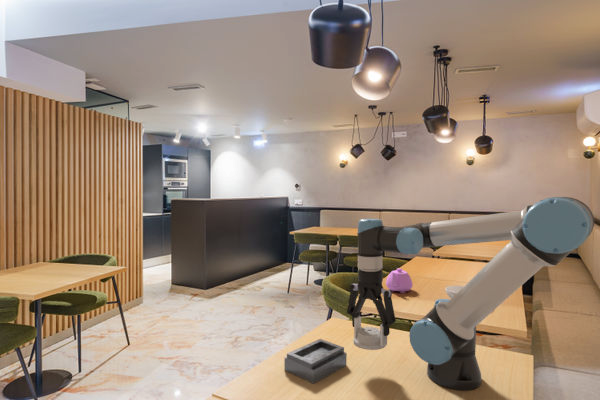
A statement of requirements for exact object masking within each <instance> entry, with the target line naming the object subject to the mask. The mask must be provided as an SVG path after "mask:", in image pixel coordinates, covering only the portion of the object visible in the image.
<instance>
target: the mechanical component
mask: <svg viewBox="0 0 600 400" xmlns="http://www.w3.org/2000/svg"><path fill="white" fill-rule="evenodd" d="M353 344H354V346H355V347H357V348H359V349H362V350H365V351H366V350H367V351H377V350H382V349H384V348H386V346H384V347H381V345H380V328H377V327H373V326H365V327H362V326H361V328H359V329H358V335H357V338H355V337H353Z"/></svg>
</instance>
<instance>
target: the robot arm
mask: <svg viewBox="0 0 600 400" xmlns="http://www.w3.org/2000/svg"><path fill="white" fill-rule="evenodd" d="M594 226H595V216H594V214H593V212H592V210H591V208H590V207H589V206H588V205H587V204H586V203H585V202H583V201H582V200H580V199H577V198H574V197H568V196H559V197H558V196H555V197H553V196H552V197H546V198H544V199H542V200H539V201H538V202H535V203H534V204H532V205H526V206H525V207H524V208H523V209H522V210H514V211H507V212H500V213H492V214H491V213H490V214H484V215H477V216H470V217H469V216H468V217H463V218H453V219H446V220H440V221H432V222H420V223H416V224H410V225H405V226H385V225H384V223H383V220H382V219H380V218H362V219H359V221H358V224H357V268H358V269H357V281H358V283H356V282H355V283H351V284H350V285H349V291H350V293H349V299H348V304H347V309H346V314H347V315H350V316H351V317H352V318H351V320H352V321H351V322H352V327H353V331H354V332H353V336H354V337H355V338H357V335H358V329H359V328H361V327H362V316H360V315H361V311H362V309H363V306H364V304H365V302H366V300H369V301H372V303H373V304H374V305H375V308H376V310H377V313H378V316H379V318H380V321H381V324H380V325H379V330H380V345H381V347H384V346H385V347H386V346H388V336H389V335H390V326H392V325H393V324H395V323H396V321H397V320H396V317H395V310H394V305H393V300H392V296H393V295H392V294H393V292H392V291H391V290H390V289H386V288H384V287H383V277H384V276H383V275H384V273H383V272H384V271H383V255H384V254H383V252H388V253H395V254H396V253H397V254H403V255H417V254H419V253H420V252H421V251H422V249H424V248H434V247H443V246H445V247H446V246H455V245H456V246H457V245H468V244H479V243H491V242H502V241H503V242H504V241H509V242H508V243H507V244H506V245H505V246H504V247H503V248H502V249H501V250H500V251H499V252H498V253H497V254H496V255H495V256H494V257H493V258H491V260H490V261H489V262H487V263H486V264H485V265H484V266H483V267H482V269H480V270H479V271H478V272H477V274H475V275H474V276H473V277H472V278H471V279H470V280H469V281H468V282H467V283H466V284H465V285H463V286H464V287H463V288H462V289H461V290H460V291H459V292H458V293H457V294H456V295H455V296H454V297H453V298H452V299H451V298H450V299H448V298H438V299H436V300H435V301H434V305H433V308H431V310H429V312H428V313H426V314H425V316H423V317H422V318H421V319H419V320H417V321H415V322H414V324H413V325H412V326H411V328H410V330H409V334H408V335H409V342H410V343H409V344H410V346H411V348H412V350H413V351H414V352H415V354H416V355H417V356H418V357H419V359H421V360H422V361H423V362H425V363H427V366H426V368H427V369H426V370H427V371H426V374H427V376H428V378H429V379H430V380H431V381H432V382H434V383H436V384H437V385H439V386H443V387H445V388H448V389H453V390H458V391H470V390H475V389H477V388H479V387H480V386H481V385H482V371H481V370H480V366H479V362H478V360H477V357H476V348H477V345H476V342H477V338H476V337H477V336H476V335H477V326H478V325H479V324H481V323H482V321H483V320H485V319H486V318H487V317H488V316H489V315H490V314H492V313H493V312H494V311H495V310H496V309H497V308H498V307H499V306H501V305H502V304H503V303H504V302H505V301H506V300H507V299H508V298H509V297H511V296H512V295H513V294H514V293H515V292H516V291H517V290H518V289H520V288H521V287H522V286H523V285H524V284H525V283H526V282H527V281H528V280H530V279H531V278H532V277H533V276H535V274H536V273H538V272H539V271H540V270H541V269H542V268H543V267H555V266H557V265H558V264H559V263H561V262H562V261H563V260H564V259H565V258H566V257H567V256H569V255H570V254H571V253H572V252H573V251H574V250H576V249H578V248H579V247H581V246H582V245H583V244H584V242H586V240H587V239H588V238H589V236H590V235H591V234H592V232H593V230H594V228H595V227H594ZM358 291H359V293H358ZM358 295H359V296H358ZM357 298H358V299H357ZM354 337H353V338H354ZM385 347H384V348H385Z"/></svg>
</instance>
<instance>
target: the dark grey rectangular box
mask: <svg viewBox="0 0 600 400" xmlns="http://www.w3.org/2000/svg"><path fill="white" fill-rule="evenodd" d="M346 366H347V352H345V347H344V346H341V345H338V344H335V343H333V342H330V341H327V340H326V339H325V340H324V339H322V338H319V339H317V340H314V341H312V342H310V343H308V344H305V345H303V346H301V347H299V348H296V349H294V350H292V351H290V352H287V353H286V356H284V366H283V367H284V371H285V372H288V373H290V374H292V375H294V376H296V377H298V378H300V379H303V380H305V381H307V382H309V383H311V384H314V385H315V384H316V383H318V382H319V381H321V380H323V379H325V378H327V377H328V376H330V375H332V374H334V373H335V372H337V371H339V370H341V369H342V368H344V367H346Z"/></svg>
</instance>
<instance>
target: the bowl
mask: <svg viewBox="0 0 600 400" xmlns="http://www.w3.org/2000/svg"><path fill="white" fill-rule="evenodd" d="M464 286H465V285H449V286H446V287H445V289H444V290H445V292H446V295H447V296H448V297H449V298H450V300H451V299H452V298H453V297H454V296H455V295H456V294H457V293H458V292H459V291H460V290H461V289H462V288H463V287H464Z"/></svg>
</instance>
